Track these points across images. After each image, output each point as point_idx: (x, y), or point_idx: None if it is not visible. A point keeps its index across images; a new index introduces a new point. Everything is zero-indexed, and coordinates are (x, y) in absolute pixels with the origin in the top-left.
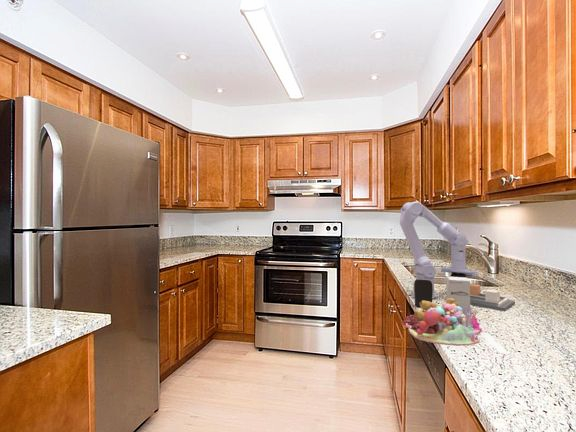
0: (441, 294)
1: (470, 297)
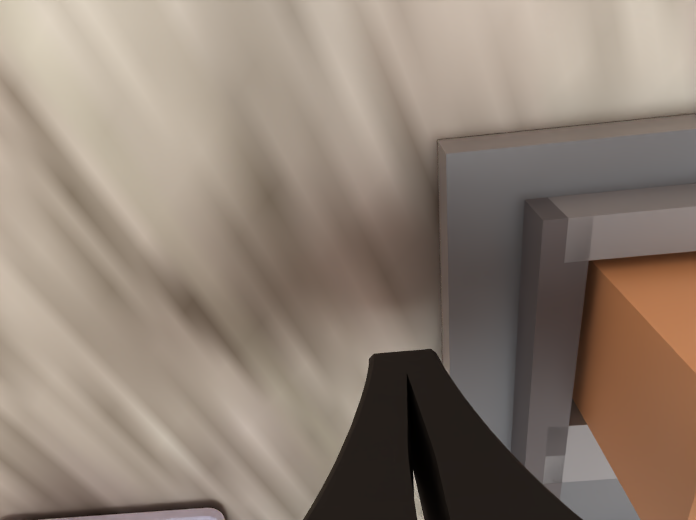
0: (155, 371)
1: None
